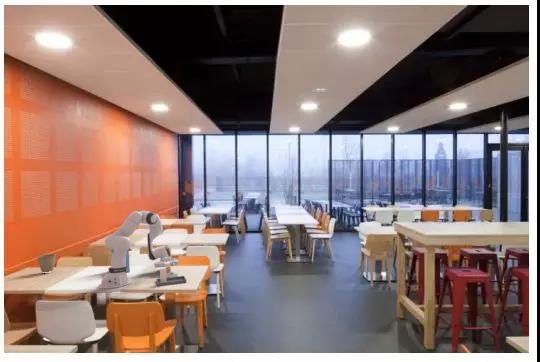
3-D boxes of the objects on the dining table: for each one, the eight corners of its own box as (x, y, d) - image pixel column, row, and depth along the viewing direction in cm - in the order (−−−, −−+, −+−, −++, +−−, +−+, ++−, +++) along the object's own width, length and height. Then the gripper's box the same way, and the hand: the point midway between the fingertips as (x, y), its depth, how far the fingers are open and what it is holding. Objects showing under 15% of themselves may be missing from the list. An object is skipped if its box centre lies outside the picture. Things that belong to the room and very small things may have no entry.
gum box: (129, 271, 349) (128, 246, 349) (125, 273, 345) (124, 247, 344) (116, 269, 360) (115, 245, 360) (111, 270, 356) (110, 246, 355)
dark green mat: (158, 280, 314) (158, 280, 314) (157, 276, 327) (157, 276, 327) (178, 278, 319) (178, 277, 319) (176, 274, 332) (176, 274, 332)
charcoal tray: (157, 286, 297) (157, 283, 297) (156, 282, 310) (156, 279, 310) (186, 282, 304) (186, 279, 304) (184, 278, 318) (184, 275, 318)
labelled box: (165, 278, 320) (164, 263, 320) (165, 276, 324) (164, 262, 324) (171, 277, 321) (170, 263, 321) (170, 276, 326) (169, 262, 326)
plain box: (160, 284, 302) (160, 268, 302) (160, 282, 307) (159, 267, 306) (166, 283, 304) (166, 268, 304) (166, 281, 308) (165, 267, 308)
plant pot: (50, 274, 349) (49, 257, 349) (34, 275, 349) (33, 257, 349) (60, 270, 364) (59, 253, 364) (44, 271, 364) (43, 254, 364)
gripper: (153, 260, 339) (154, 263, 326) (177, 257, 346) (178, 260, 333) (153, 267, 339) (154, 270, 326) (177, 264, 346) (179, 267, 333)
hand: (167, 265), depth 330 cm, fingers open, 8 cm apart
